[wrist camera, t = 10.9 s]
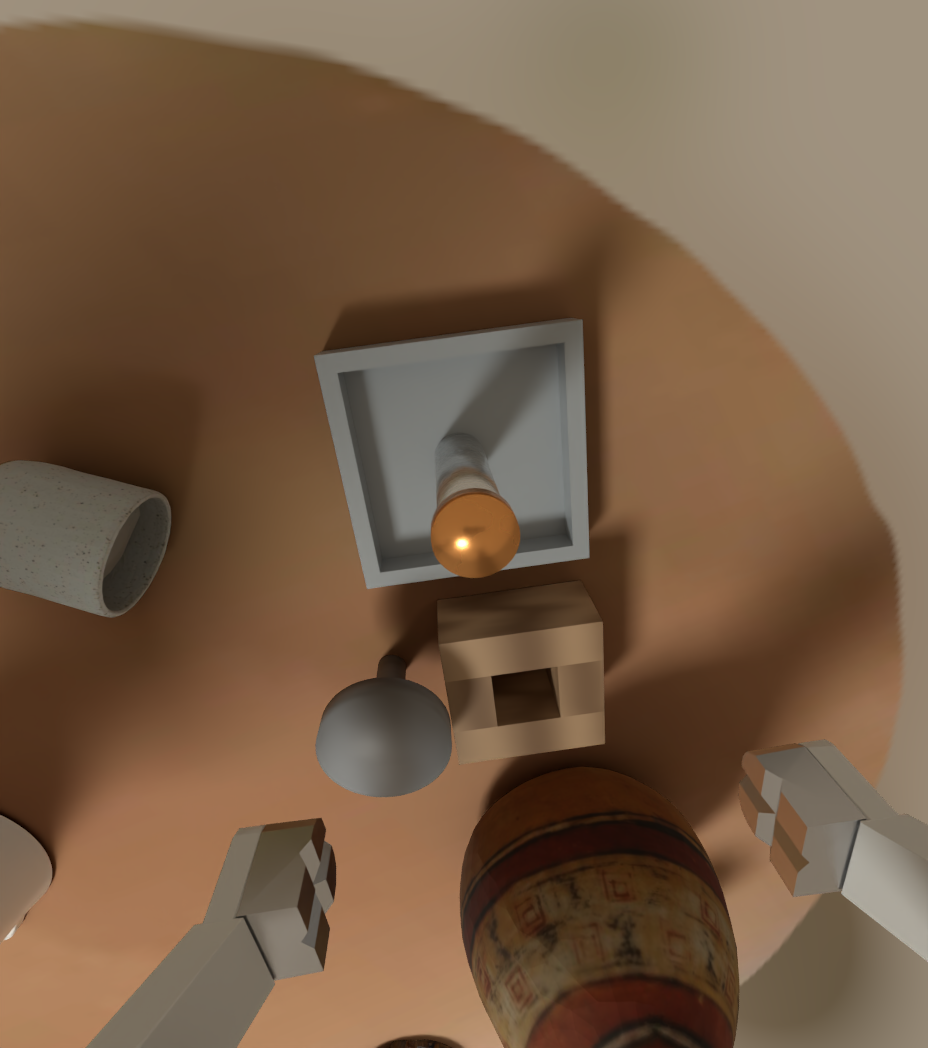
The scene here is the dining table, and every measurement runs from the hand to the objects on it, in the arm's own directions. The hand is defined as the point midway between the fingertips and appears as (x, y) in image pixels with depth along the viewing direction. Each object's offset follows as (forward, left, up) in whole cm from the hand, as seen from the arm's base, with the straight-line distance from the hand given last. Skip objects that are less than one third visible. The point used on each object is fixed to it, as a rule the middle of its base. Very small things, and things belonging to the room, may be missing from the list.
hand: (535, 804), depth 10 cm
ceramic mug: (-22, -2, -25) cm, 33 cm away
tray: (0, 0, -24) cm, 24 cm away
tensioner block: (-2, -15, -24) cm, 29 cm away
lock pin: (0, 0, -24) cm, 24 cm away
